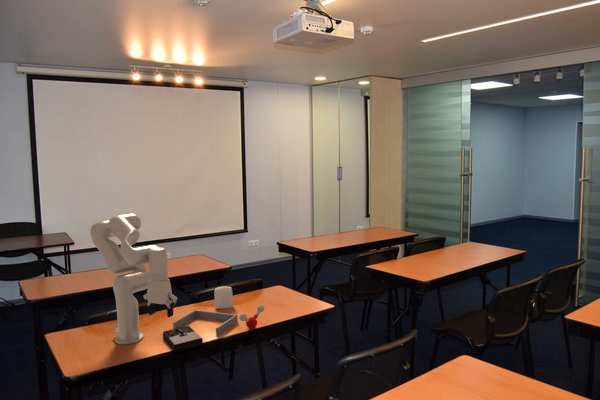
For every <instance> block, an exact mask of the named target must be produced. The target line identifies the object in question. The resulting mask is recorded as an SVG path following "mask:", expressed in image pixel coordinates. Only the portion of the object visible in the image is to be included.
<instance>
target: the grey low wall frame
mask: <svg viewBox="0 0 600 400" xmlns="http://www.w3.org/2000/svg"><path fill="white" fill-rule="evenodd" d="M195 319H203V320H210V321H218V322H223V323H221V324H220V325H218V326H217V327H216V328H215V337H219V336H221V335H222V334H224V333H225V332H226V331H228V330H230V328H232V327H233V326H234V325H236V324H237V323H239V322H238V321H239V320H238V319H239V318H238V314H234V313H233V314H231V313H224V312H216V311H208V310H207V311H206V310H199V309H194V310H192V311H190V312H189V313H187V314H185V315H183V316H182V317H180V318H177V320H175V321H173V322H172V327H173V328H172V329H177V328H181V327H184V326H185V325H186V324H188V323H189V322H191V321H193V320H195Z"/></svg>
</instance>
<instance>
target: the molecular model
mask: <svg viewBox="0 0 600 400" xmlns="http://www.w3.org/2000/svg"><path fill="white" fill-rule="evenodd" d="M264 311H265V306H264V305H262V304H259V305H258V306H257V308H256V312H255V314H254V315H253V316H250V317H247V316H248V315H247V314H246V313H245V312H242V313H240V314H239V315H238V316H239V317H238V319H239V320H240V321H242V322H244V321H245V326H246V327H247V328H248V329H251V330H252V329H255V328H257V326H258V320H257V319H258V317H259V316H260V313H263V312H264Z"/></svg>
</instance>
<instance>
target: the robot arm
mask: <svg viewBox="0 0 600 400" xmlns="http://www.w3.org/2000/svg"><path fill="white" fill-rule="evenodd" d="M141 225H142V221H141V219H140V217H139V216H138V215H137V214H135V213H127V214H119V215H115V216H112V217H110V219H109V220H101V221H97V222H95V223H94V224H92V226H91V227H90V231H89V233H90V238H91V241H92V243H93V244H94V246H95V248H97V250H98V251H99V253H100V254H101V256H102V258H103V261H104V263H105V265H106V267H107V269H108V271H109V273H110V274H111V275H113V276H116V277H115V278H114V279H113V281H112V289H113V293H114V297H115V304H116V318H117V327H116V328H115V329H114V330H113V331H112V334H113V335H116V337H115V338H114V340H115V341H114V342H115V343H116V344H118V345H131V344H135V343H137V342H139V341H142V340H143V338H144V333H142V332H140V331H141V330H140V328H141V327H140V314H139V301H138V299H137V298H136V297H135V296H134V294H135V293H137V292H140V291H145V290H146V293H145V294H144V295H143V299H144V301H145V303H146V306H147V307H148V315H149V316H152V315H154V314H156V305H166V307H167V308H166V314H167V318H171V317H172V316H174V307H175V306H176V304H177V301H178V299H179V298H178V297H177V296H176V295H175V294H173V292H172V284H171V281H170V279H169V272H168V271H169V270H168V254H167V250H166V248H165V247H159V246H157V245H154V244H153V245H147V246H139V247H136V248H135V247H134V248H133V247H132V246H133V245H135V244H136V243H137V242H138V240H139V239H140V235H141V234H140V231H139V229H141ZM116 237H117V238H118V240H119V241H120V245H118V244H117V243H116V242H115V241H114V240H113V239H110V238H116ZM147 264H148V268H147V266H146V265H147ZM155 304H156V305H155Z"/></svg>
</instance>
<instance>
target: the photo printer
mask: <svg viewBox="0 0 600 400" xmlns="http://www.w3.org/2000/svg"><path fill="white" fill-rule="evenodd" d="M213 291H214V292H213V293H214V294H213V295H214V297H213V298H214V309H216V310H219V309H229V308H233V307H234V298H233V295H234V294H233V288H232V287H231V286H224V285H223V286H218V287H216V288H214V290H213Z"/></svg>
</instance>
